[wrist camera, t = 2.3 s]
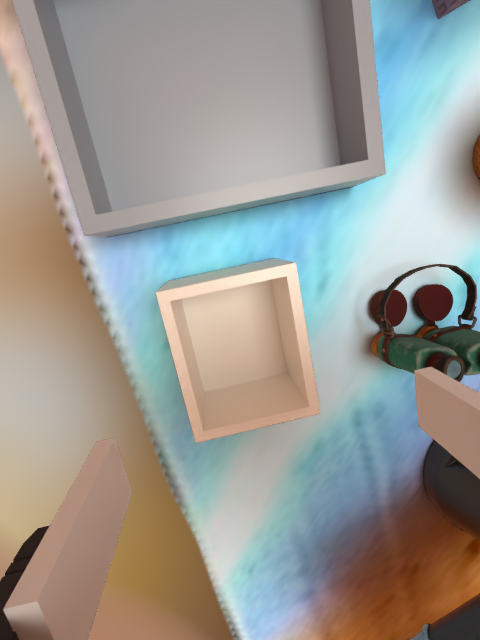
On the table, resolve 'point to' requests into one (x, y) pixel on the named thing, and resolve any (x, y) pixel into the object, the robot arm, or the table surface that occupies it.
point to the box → (446, 6)
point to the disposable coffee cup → (477, 157)
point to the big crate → (204, 103)
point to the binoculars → (428, 329)
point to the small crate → (240, 347)
